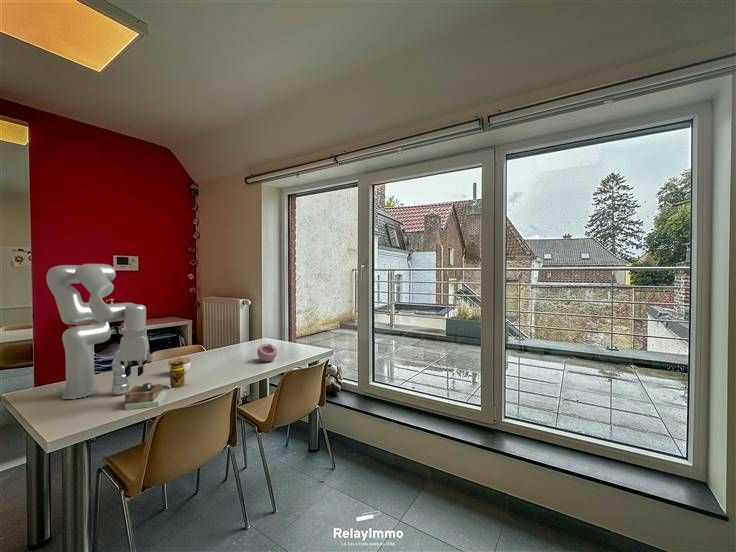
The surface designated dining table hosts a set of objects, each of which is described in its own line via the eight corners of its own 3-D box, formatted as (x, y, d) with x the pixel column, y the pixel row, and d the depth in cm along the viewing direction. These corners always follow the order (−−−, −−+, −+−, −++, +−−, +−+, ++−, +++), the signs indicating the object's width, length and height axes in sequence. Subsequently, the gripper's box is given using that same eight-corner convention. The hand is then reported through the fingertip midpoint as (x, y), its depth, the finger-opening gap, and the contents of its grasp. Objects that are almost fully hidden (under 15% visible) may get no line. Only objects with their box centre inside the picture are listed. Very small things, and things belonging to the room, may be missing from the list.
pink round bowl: (266, 365, 191) (266, 346, 191) (253, 362, 197) (253, 343, 197) (281, 360, 201) (281, 342, 201) (268, 357, 208) (268, 340, 207)
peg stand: (125, 409, 130) (124, 390, 130) (136, 398, 141) (136, 380, 141) (158, 406, 134) (158, 387, 133) (167, 395, 145) (167, 378, 145)
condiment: (174, 390, 152) (173, 365, 151) (164, 386, 156) (164, 362, 155) (189, 385, 158) (188, 361, 158) (179, 382, 162) (179, 359, 162)
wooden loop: (125, 404, 131) (125, 394, 131) (135, 394, 140) (134, 386, 140) (153, 401, 134) (152, 392, 134) (160, 392, 143) (160, 383, 143)
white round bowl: (164, 375, 172) (164, 358, 172) (183, 369, 181) (183, 353, 181) (176, 378, 167) (176, 361, 167) (195, 372, 176) (195, 356, 176)
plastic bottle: (127, 389, 151) (126, 348, 150) (131, 393, 147) (130, 350, 146) (109, 394, 146) (109, 351, 145) (113, 397, 142) (113, 353, 141)
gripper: (107, 335, 129) (106, 380, 130) (154, 334, 135) (153, 377, 135) (115, 332, 137) (115, 373, 137) (160, 331, 142) (159, 371, 142)
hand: (134, 375), depth 136 cm, fingers open, 3 cm apart
